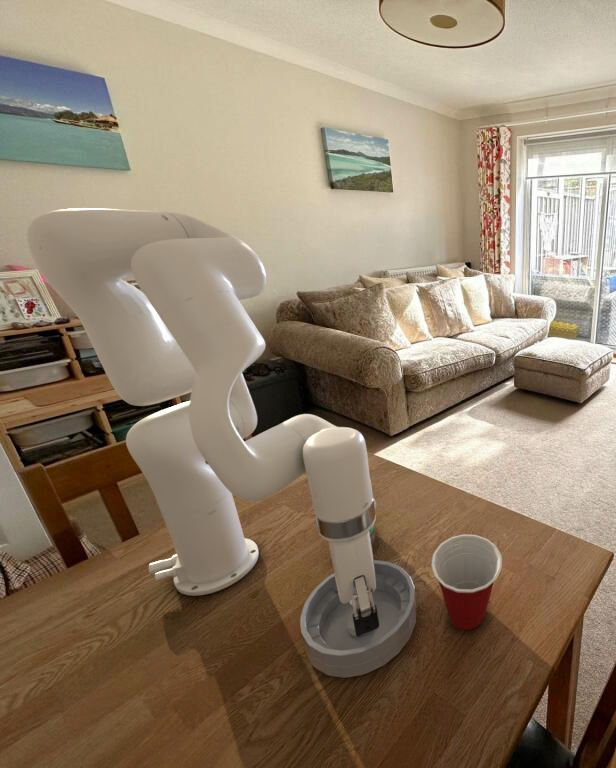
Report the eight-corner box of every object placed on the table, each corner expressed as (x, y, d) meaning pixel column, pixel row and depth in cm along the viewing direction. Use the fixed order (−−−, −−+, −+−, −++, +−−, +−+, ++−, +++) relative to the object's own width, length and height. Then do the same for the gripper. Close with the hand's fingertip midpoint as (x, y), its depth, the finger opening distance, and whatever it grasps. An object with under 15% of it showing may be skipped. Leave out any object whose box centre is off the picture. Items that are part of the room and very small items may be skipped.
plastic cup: (475, 660, 59) (474, 601, 55) (420, 624, 64) (415, 567, 60) (513, 605, 68) (515, 550, 63) (462, 577, 73) (461, 524, 68)
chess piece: (374, 605, 67) (369, 568, 64) (382, 628, 63) (377, 590, 60) (344, 618, 64) (337, 580, 61) (350, 642, 61) (343, 604, 58)
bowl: (310, 702, 53) (304, 677, 52) (302, 605, 67) (297, 583, 65) (430, 645, 61) (428, 622, 59) (401, 569, 74) (399, 548, 72)
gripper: (311, 488, 61) (328, 574, 67) (323, 568, 47) (343, 666, 53) (363, 475, 64) (375, 557, 71) (388, 545, 50) (400, 640, 57)
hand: (361, 604), depth 62 cm, fingers open, 9 cm apart
